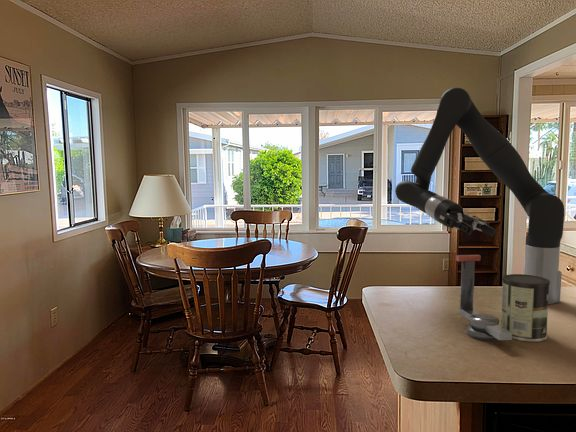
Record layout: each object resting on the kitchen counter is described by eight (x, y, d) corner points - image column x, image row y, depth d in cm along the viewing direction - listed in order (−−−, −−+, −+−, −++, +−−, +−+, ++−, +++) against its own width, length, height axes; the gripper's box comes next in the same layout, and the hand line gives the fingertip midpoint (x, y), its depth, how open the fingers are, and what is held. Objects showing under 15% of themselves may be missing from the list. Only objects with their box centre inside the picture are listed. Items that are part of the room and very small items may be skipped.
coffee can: (538, 328, 114) (541, 274, 113) (553, 343, 104) (557, 284, 103) (495, 325, 116) (497, 272, 115) (506, 340, 106) (509, 283, 105)
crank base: (508, 340, 106) (509, 334, 106) (477, 341, 105) (477, 335, 105) (490, 328, 114) (490, 322, 114) (460, 329, 113) (460, 323, 113)
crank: (518, 341, 101) (522, 270, 99) (492, 342, 100) (495, 271, 99) (474, 313, 120) (476, 254, 119) (452, 314, 120) (453, 254, 118)
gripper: (429, 196, 131) (468, 217, 118) (464, 201, 138) (505, 221, 124) (421, 220, 134) (459, 243, 120) (456, 223, 140) (495, 245, 126)
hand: (482, 232), depth 122 cm, fingers open, 8 cm apart
